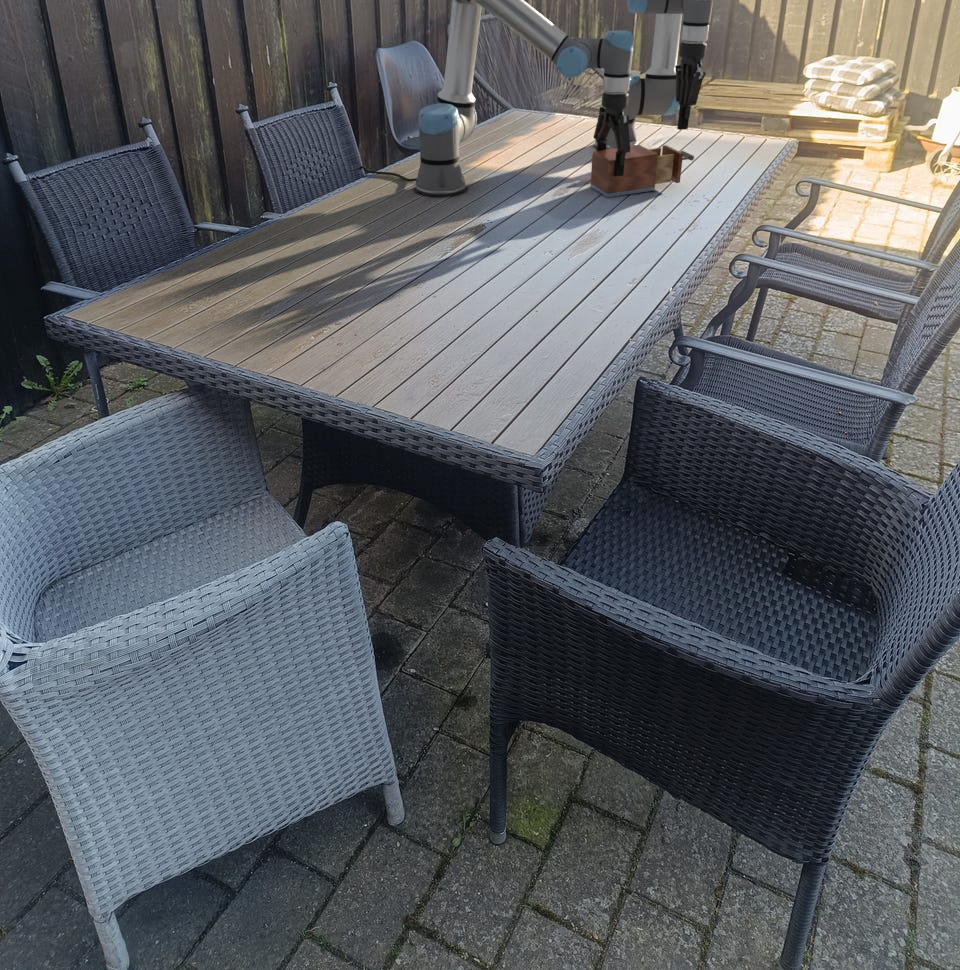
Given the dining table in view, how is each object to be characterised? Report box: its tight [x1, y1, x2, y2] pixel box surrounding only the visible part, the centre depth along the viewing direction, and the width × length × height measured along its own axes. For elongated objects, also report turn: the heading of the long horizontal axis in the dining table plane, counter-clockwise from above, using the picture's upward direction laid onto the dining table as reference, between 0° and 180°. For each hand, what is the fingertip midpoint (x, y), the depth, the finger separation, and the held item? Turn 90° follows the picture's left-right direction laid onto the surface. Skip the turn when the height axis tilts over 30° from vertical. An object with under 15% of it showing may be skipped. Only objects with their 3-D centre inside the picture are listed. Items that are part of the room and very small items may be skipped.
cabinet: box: [590, 144, 658, 198], centre depth 256 cm, size 16×11×11 cm
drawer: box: [649, 144, 695, 185], centre depth 259 cm, size 20×10×9 cm, turn 110°
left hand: (609, 170), depth 254 cm, fingers closed on cabinet, 11 cm apart
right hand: (682, 128), depth 255 cm, fingers closed
